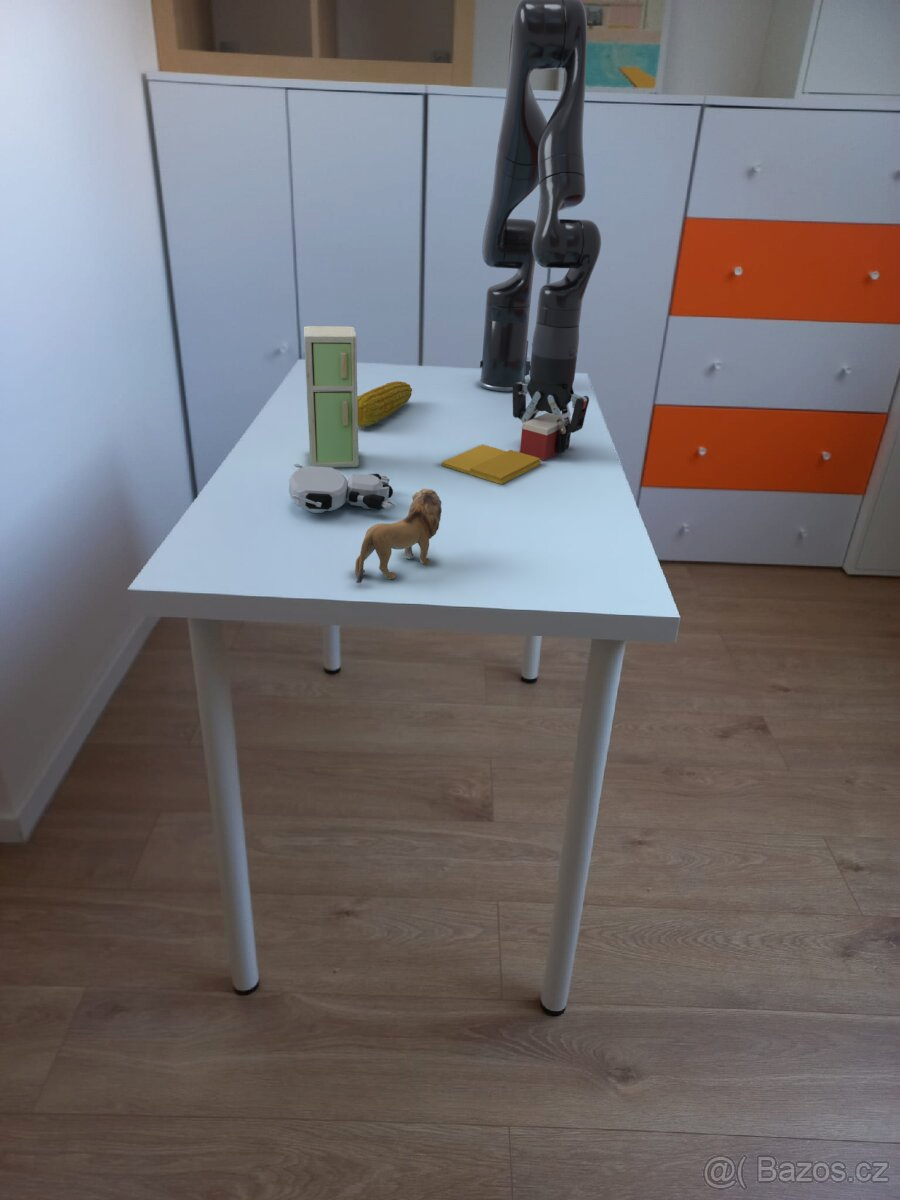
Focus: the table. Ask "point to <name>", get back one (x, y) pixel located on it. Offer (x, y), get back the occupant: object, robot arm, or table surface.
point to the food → (382, 402)
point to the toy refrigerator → (332, 395)
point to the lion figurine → (403, 533)
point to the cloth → (492, 463)
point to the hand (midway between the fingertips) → (544, 447)
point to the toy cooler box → (540, 437)
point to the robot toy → (338, 489)
